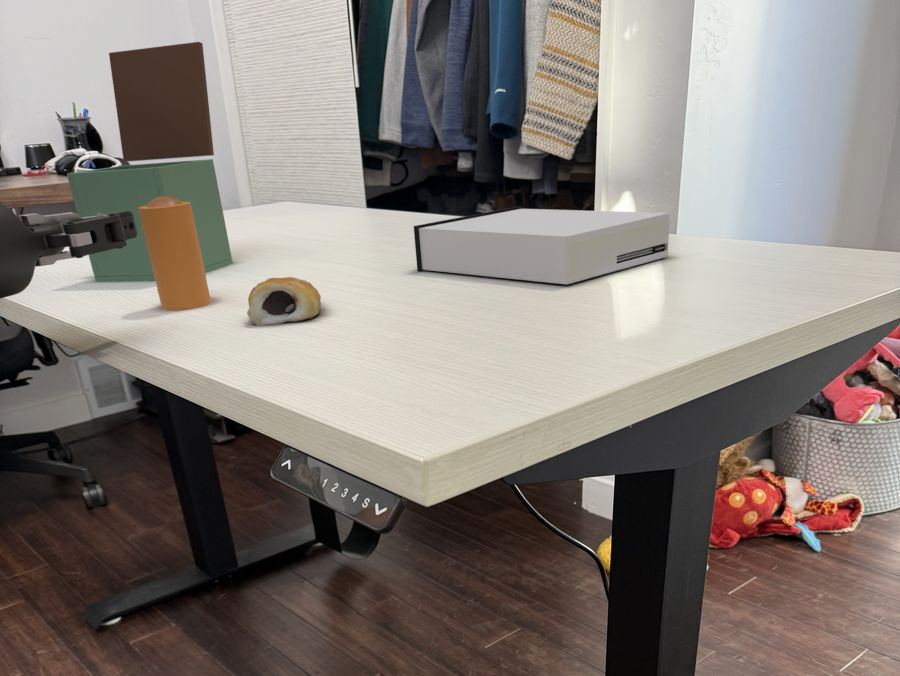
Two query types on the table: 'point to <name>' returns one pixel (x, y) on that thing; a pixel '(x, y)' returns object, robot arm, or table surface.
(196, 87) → the bin lid
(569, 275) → the disc drive
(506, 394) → the table surface
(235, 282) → the table surface
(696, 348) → the table surface
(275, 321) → the pastry
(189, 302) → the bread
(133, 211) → the bin
